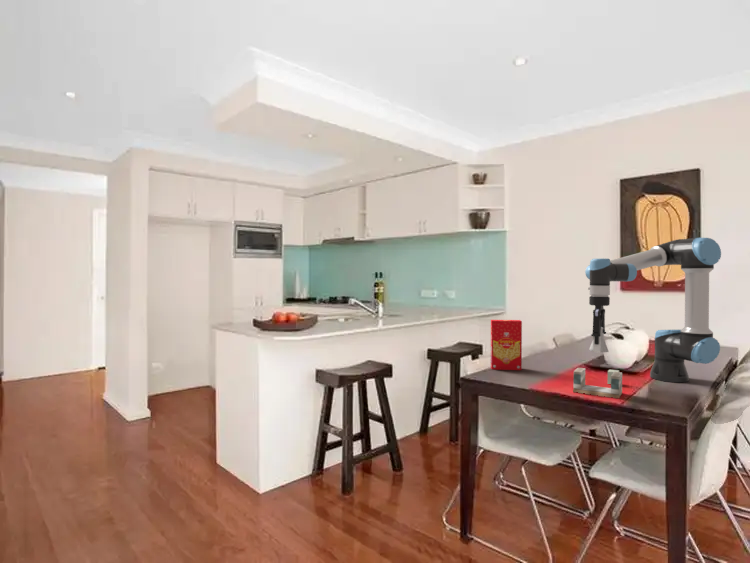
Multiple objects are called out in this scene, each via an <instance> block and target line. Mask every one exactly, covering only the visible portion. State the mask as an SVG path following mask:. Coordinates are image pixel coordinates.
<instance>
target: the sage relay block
mask: <svg viewBox="0 0 750 563" xmlns="http://www.w3.org/2000/svg"><path fill="white" fill-rule="evenodd" d="M613 372H620V370H618V369H608V370H607V381H606V382H607V383H606V384H611V375H612V374H613Z"/></svg>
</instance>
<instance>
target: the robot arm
mask: <svg viewBox="0 0 750 563" xmlns="http://www.w3.org/2000/svg"><path fill="white" fill-rule="evenodd" d="M721 250H722V249H721V247H720V245H719V243H718V242H717V241H715V239H713V238H710V237H702V236H701V237H691V238H682V239H681V238H679V239H675V240H670V241H667V242H665V243H661V244H658V245H654V246H652V247H650V249H647V250H645V251H641V252H637V253H634V254H630V255H627V256H622V257H619V258H615V259H612V260H610V258H592V259H590V262H589V265H588V266H586V268H585V271H584V272H585V277H586V278H587V279H588V280H589V287H588V289H587V290H588V291H589V295H590V296H589V299H588V301H589V303H588V304H589V306H594V309H593V310H592V315H593V317H592V333H591V334H590V336H591V337H592V341H593V351H592V353H598V354H600V353H602V352H601V337H600V336H601V335H600V333H601V327H603V337H604V338H605V335H606V334H607V332H606V325H605V323H606V322H605V320H606V309H605V308H604V307H607V306H610V300H611V299H610V295H611V282H624V283H626V282H632V281H634V280H635V279H636V277H637V275H638V272H637V271H641V270H643V269H647V268H652V267H654V266H655V267H663V266H675V265H676V266H680V269H681V270H682V272H683V273H684V327H683V328H681V329H658V330H656V331H655V333H654V334H655V335H654V362H653V364H652V367H651V369H650V371H649V376H650V378H651V379H655V380H657V381H663V382H668V383H669V382H670V383H686V382H689V380H690V378H689V377H690V376H689V372H688V370H687V367H686V365H685V361H689V362H693V363H696V364H704V365H706V364H710V363H712V362H714V361H715V360H716V359H717V357H718V356H719V354H720V351H721V344H720V342H719V340H718V339H717V338H715V337H714V332H713V331H712V330H711V328H710V314H709V313H710V273H711V272H712V271H713V270H714V269H715V267H714V266H715V264H718V263H719V262H720V260H721V258H722V251H721Z"/></svg>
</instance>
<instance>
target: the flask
mask: <svg viewBox="0 0 750 563" xmlns="http://www.w3.org/2000/svg"><path fill="white" fill-rule="evenodd" d="M600 335H601V336H600V337H601V353H602V354H603V353H609V349H608V346H607V344H606V341H605V336H604V337H603V327H601V333H600ZM588 351H590V352H593V340H592V341H591V343H590V346H589V349H588Z"/></svg>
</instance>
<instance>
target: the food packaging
mask: <svg viewBox="0 0 750 563" xmlns="http://www.w3.org/2000/svg"><path fill="white" fill-rule="evenodd" d="M522 328H523V322H522V320H521V319H490V369H491V370H496V371H498V370H500V371H508V370H509V371H522V370H523V369H522V368H523V367H522V362H523V361H522V353H523V352H522V350H523V348H522V347H523V345H522V344H523V342H522V340H523V329H522Z"/></svg>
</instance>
